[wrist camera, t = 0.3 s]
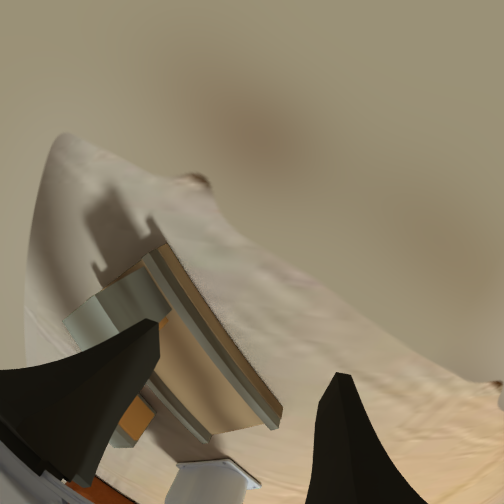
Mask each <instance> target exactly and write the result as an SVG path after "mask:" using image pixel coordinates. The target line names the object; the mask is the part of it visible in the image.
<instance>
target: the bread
mask: <svg viewBox="0 0 504 504" xmlns="http://www.w3.org/2000/svg"><path fill="white" fill-rule="evenodd" d="M65 485H67V486H68V487H69V488H71V489H72V490H74V491H75V492H77V493H78V494H80V495H81V496H83V497H85V498H86V499H88V500H89V501H91V502H93V503H94V504H135V503H133V502H132V501H130V500H128V499H127V498H125V497H124V496H122V495H121V494H119V493H118V492H116V491H115V490H113V489H112V488H111V487H109V486H108V485H106V484H105V483H104V482H102V481H101V480H100V479H98V478H97V477H95V476H94V479H93V481H92V485H91V487H88V488H82V487H81V486H79V485H78V484H76V483H75V482H73V481H71V482H70V483H69V482H66V483H65ZM68 504H69V503H68Z"/></svg>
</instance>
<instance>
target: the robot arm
mask: <svg viewBox="0 0 504 504" xmlns="http://www.w3.org/2000/svg"><path fill="white" fill-rule="evenodd" d="M159 359H160V339H159V323H158V322H155V321H153V320H150V319H147V318H145V319H143V320H141V321H140V322H138V323H136V324H134V325H132V326H131V327H129V328H127V329H125V330H124V331H122V332H120V333H118V334H117V335H115V336H113V337H111V338H109V339H107V340H105V341H104V342H102V343H100V344H97V345H95V346H93V347H91V348H89V349H87V350H85V351H83V352H80V353H78V354H75V355H73V356H70V357H67V358H64V359H61V360H58V361H54V362H50V363H47V364H43V365H39V366H34V367H28V368H21V369H11V370H0V504H68V503H69V504H94V503H93V502H91V501H89V500H88V499H86V498H85V497H83V496H81V495H80V494H78V493H77V492H75V491H74V490H72V489H71V488H69V487H68V486H67V485H65V484H64V483H62V482H61V480H62V479H65V480H66V481H67V482H69V483H70V482H71V481H73V482H75V483H76V484H78V485H79V486H81V487H82V488H88V487H91V485H92V481H93V479H94V476H95V473H96V470H97V468H98V465H99V463H100V460H101V458H102V456H103V453H104V451H105V449H106V447H107V445H108V443H109V441H110V439H111V436H112V434H113V433H114V431H115V429H116V427H117V425H118V423H119V421H120V419H121V418H122V416H123V415H124V413H125V412H126V410H127V409H128V407H129V406H130V404H131V403H132V402H133V400H134V399H135V397H136V396H137V395H138V393H139V392H140V390H141V389H142V388H143V386H144V385H145V383H146V382H147V380H148V379H149V378H150V376H151V374H152V372H153V371H154V369H155V367H156V365H157V363H158V361H159ZM176 466H177V467H178V468H179V471H178V473H177V475H176V477H175V479H174V481H173V483H172V485H171V487H170V489H169V491H168V493H167V495H166V498H165V504H243V501H244V497H245V494H246V490H249V489H259V488H261V487H262V485H261V484H259V483H258V482H257V481H256V480H254V479H253V478H252V477H251V476H249V475H248V474H247V473H246V472H244V471H243V470H242V469H241V468H240V467H238V466H237V465H236V464H235V463H234V462H233V461H232V460H230V459H222V460H213V461H202V462H188V463H177V464H176ZM305 504H428V503H427V502H426V501H424V500H423V499H422V498H421V497H420V496H419V495H418V494H417V493H416V491H415V490H414V489H413V488H412V487H411V486H410V485H409V484H408V482H407V481H406V480H405V479H404V477H403V476H402V475H401V473H400V472H399V471H398V470H397V468H396V467H395V465H394V464H393V462H392V461H391V459H390V458H389V456H388V454H387V453H386V451H385V449H384V448H383V446H382V444H381V442H380V441H379V439H378V437H377V435H376V433H375V431H374V429H373V427H372V424H371V422H370V420H369V418H368V416H367V413H366V411H365V409H364V406H363V404H362V402H361V399H360V397H359V394H358V392H357V389H356V386H355V384H354V381H353V379H352V376H351V375H349V374H344V373H338V372H336V373H335V375H334V377H333V379H332V380H331V382H330V384H329V386H328V387H327V389H326V391H325V393H324V394H323V396H322V398H321V399H320V401H319V404H318V410H317V415H316V422H315V433H314V450H313V464H312V474H311V480H310V485H309V489H308V494H307V498H306V502H305Z"/></svg>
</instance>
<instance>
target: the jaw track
mask: <svg viewBox="0 0 504 504" xmlns="http://www.w3.org/2000/svg"><path fill="white" fill-rule="evenodd" d="M145 318H147V319H150V320H153V321H155V322H158V323H159V339H160V359H159V361H158V363H157V365H156V367H155V369H154V371H153V372H152V374H151V376H150V378H149V379H148V380H147V382H146V384H147V386H148V387H149V388H150V389H151V390H152V391H153V393H154V394H155V395H156V396H157V397H158V398H159V399H160V401H161V402H162V403H163V404H164V405H165V406H166V407H167V408H168V409H169V410H170V412H171V413H172V414H173V415H174V416H175V417H176V418H177V419H178V420H179V421H180V422H181V423H182V424H183V425H184V426H185V427H186V428H187V429H188V430H189V431H190V432H191V433H192V434H193V435H194V436H195V437H196V438H197V439H198V440H199V441H200V442H201V443H202V444H205V443H209V441H210V438H211V436H212V435H214V434H220V433H225V432H230V431H235V430H239V429H244V428H248V427H252V426H256V425H260V424H265V425H266V426H267V427H268V428H269V429H270V430H275V429H279V424H280V419H281V417H282V411H283V407H282V406H281V405H280V403H279V402H278V401H277V400H276V398H275V397H274V396H273V395H272V393H271V392H270V391H269V389H268V388H267V387H266V386H265V384H264V383H263V382H262V380H261V379H260V378H259V376H258V375H257V374H256V372H255V371H254V370H253V369H252V367H251V366H250V365H249V363H248V362H247V360H246V359H245V358H244V356H243V355H242V354H241V352H240V351H239V350H238V348H237V347H236V345H235V344H234V343H233V341H232V340H231V339H230V337H229V336H228V334H227V333H226V331H225V330H224V329H223V327H222V326H221V324H220V323H219V322H218V320H217V319H216V317H215V316H214V314H213V313H212V311H211V310H210V308H209V307H208V306H207V304H206V303H205V301H204V300H203V298H202V297H201V295H200V294H199V292H198V291H197V289H196V288H195V286H194V285H193V283H192V282H191V280H190V278H189V277H188V275H187V274H186V272H185V271H184V269H183V268H182V266H181V264H180V263H179V261H178V260H177V258H176V257H175V255H174V253H173V252H172V250H171V249H170V247H169V245H168V244H165V245H163V246H161V247H159V248H157V249H155V250H153V251H151V252H149V253H148V254H146V255H145V256H143V257H142V260H141V261H139V262H138V263H137V264H135V265H134V266H132V267H131V268H130V269H128V270H127V271H126V272H125V273H123V274H122V275H121V276H119V277H118V278H117V279H115V280H114V281H113V282H111V283H110V284H109V285H108V286H106V287H105V288H104V289H102V290H101V291H100V292H98V293H97V294H95V295H93V296H92V297H90V298H89V299H88V300H87V301H86V302H85V303H84V304H83V305H81V306H80V307H79V308H78V309H76V310H75V311H74V312H73V313H72V314H70V315H69V316H68V317H67V318H66V319H64V320H63V321H62V322H63V323H64V325H65V326H66V328H67V330H68V331H69V333H70V334H71V336H72V337H73V339H74V340H75V342H76V343H77V345H78V346H79V348H80V349H81V351H82V352H83V351H85V350H87V349H89V348H91V347H93V346H95V345H97V344H100V343H102V342H104V341H105V340H107V339H109V338H111V337H113V336H115V335H117V334H118V333H120V332H122V331H124V330H125V329H127V328H129V327H131V326H132V325H134V324H136V323H138V322H140V321H141V320H143V319H145Z"/></svg>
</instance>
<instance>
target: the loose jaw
mask: <svg viewBox="0 0 504 504" xmlns="http://www.w3.org/2000/svg"><path fill="white" fill-rule="evenodd" d="M155 414H156V412H155V411H154V410H153V408H152V407H151V406H150V405H149V404H148V403H147V402H146V401H145V400H144V398H143V397H142V396H141V395H140V394H139V393H138V395H137V396H136V397H135V399H134V400H133V402H132V403H131V404H130V406H129V407H128V409H127V410H126V412H125V413H124V415H123V416H122V418H121V419H120V421H119V423H118V425H117V427H116V429H115V431H114V433H113V434H112V436H111V439H110V441H109V444H110V445H111V446H113V447H114V448H133V447H134V446H135V444H136V443H137V441H138V440H139V438H140V437H141V435H142V434H143V432H144V431H145V429H146V428H147V426H148V425H149V423H150V422H151V420H152V419H153V417H154V416H155Z"/></svg>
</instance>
